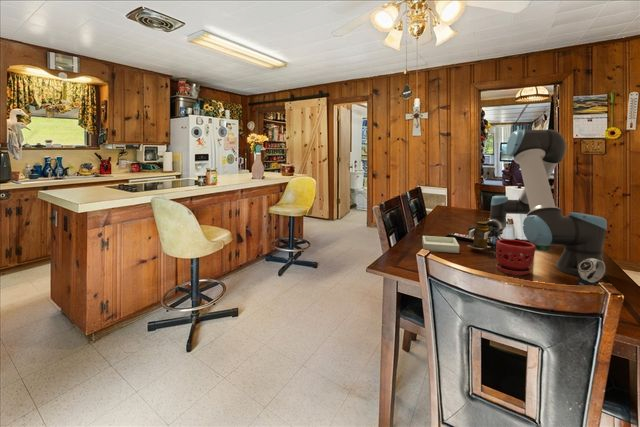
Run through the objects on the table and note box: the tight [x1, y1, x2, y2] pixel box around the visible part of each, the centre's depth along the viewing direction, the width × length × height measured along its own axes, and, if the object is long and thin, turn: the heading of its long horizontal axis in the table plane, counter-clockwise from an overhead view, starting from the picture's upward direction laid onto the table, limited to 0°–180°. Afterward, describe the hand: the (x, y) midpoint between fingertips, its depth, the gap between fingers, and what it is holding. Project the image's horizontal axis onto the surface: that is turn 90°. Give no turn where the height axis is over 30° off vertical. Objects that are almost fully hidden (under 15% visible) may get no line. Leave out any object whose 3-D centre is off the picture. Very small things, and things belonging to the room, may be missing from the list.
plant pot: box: [495, 238, 536, 276], centre depth 126 cm, size 13×13×12 cm
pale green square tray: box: [421, 235, 460, 254], centre depth 159 cm, size 16×16×4 cm
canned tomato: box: [530, 242, 551, 252], centre depth 156 cm, size 8×8×11 cm
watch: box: [576, 258, 606, 286], centre depth 108 cm, size 6×8×11 cm
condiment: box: [467, 220, 491, 250], centre depth 152 cm, size 7×8×12 cm
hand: (477, 235), depth 148 cm, fingers closed on condiment, 6 cm apart
